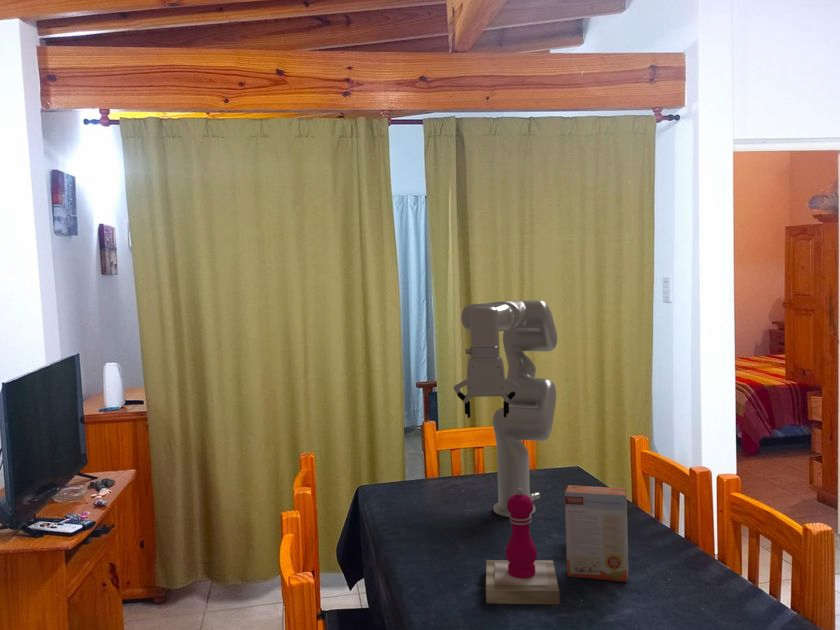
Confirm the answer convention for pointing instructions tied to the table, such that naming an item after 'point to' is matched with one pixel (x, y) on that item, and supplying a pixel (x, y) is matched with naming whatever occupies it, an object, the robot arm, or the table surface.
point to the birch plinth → (521, 584)
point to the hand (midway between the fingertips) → (487, 416)
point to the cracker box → (596, 532)
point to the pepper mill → (520, 537)
